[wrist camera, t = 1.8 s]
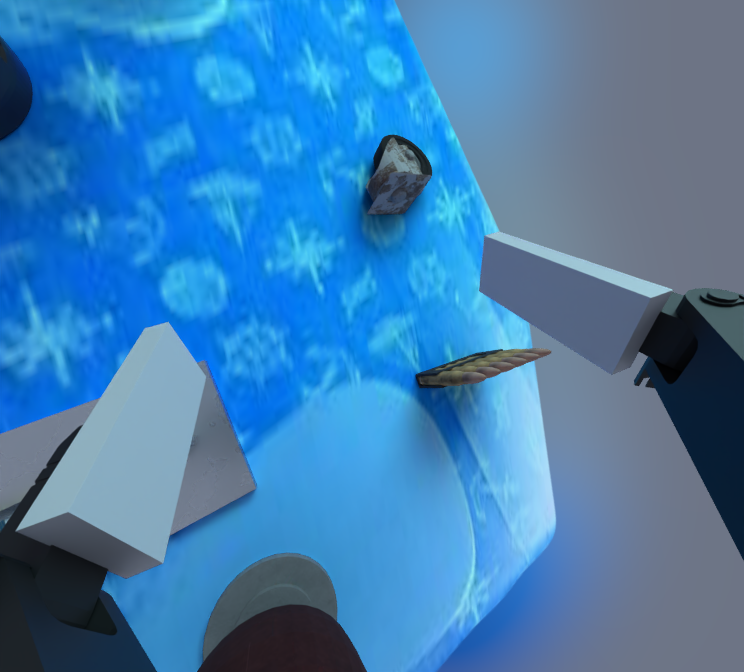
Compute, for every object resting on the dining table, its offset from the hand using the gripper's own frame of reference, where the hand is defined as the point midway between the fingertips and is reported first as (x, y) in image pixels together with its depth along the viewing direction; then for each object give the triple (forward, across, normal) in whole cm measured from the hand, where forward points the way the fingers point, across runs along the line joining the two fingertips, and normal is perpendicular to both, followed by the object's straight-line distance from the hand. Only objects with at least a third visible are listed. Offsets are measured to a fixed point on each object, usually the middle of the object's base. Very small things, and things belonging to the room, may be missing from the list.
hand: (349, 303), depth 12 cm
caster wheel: (+33, +15, -1) cm, 36 cm away
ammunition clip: (+14, +14, -22) cm, 30 cm away
